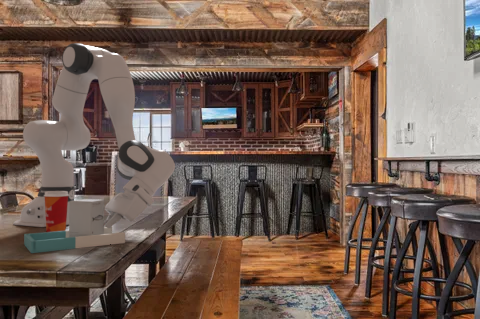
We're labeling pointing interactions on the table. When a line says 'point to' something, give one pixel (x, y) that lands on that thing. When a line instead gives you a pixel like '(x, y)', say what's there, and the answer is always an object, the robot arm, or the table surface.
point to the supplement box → (86, 217)
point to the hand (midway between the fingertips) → (105, 226)
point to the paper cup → (56, 210)
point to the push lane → (69, 240)
